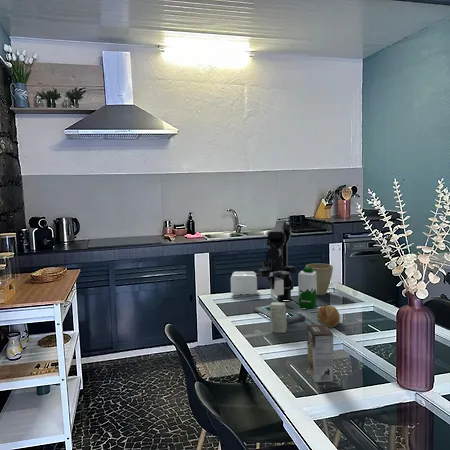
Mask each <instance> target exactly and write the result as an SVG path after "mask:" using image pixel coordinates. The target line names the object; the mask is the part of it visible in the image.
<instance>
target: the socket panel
mask: <svg viewBox="0 0 450 450" xmlns="http://www.w3.org/2000/svg"><path fill="white" fill-rule="evenodd" d="M253 311H254V312H255V313H257V312H258V313H257V314H259V313H261V314H264V315H266V316H267V317H269V318H270V319H271V315H270V304H267V305H263V306H257V307H253ZM286 313H288V314H289V315H290V316H291V317H289V316H286V319H287V324H292V323H296V322H297V323H298V322H302V321H306V316H305V315H302V314H301V313H298V312H296V311H294V310H292V309H290V308H288V307H286ZM261 314H260V315H261ZM270 319H269V320H270Z"/></svg>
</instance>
